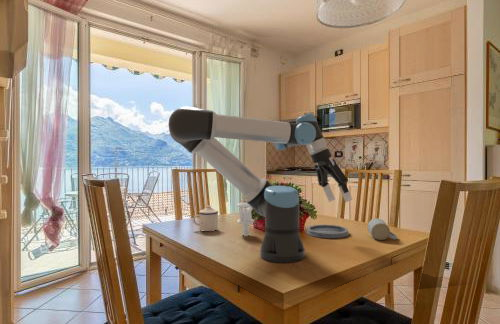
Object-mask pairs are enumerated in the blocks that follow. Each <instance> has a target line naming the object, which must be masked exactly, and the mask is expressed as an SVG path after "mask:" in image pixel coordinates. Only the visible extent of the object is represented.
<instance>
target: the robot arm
mask: <svg viewBox="0 0 500 324" xmlns="http://www.w3.org/2000/svg"><path fill="white" fill-rule="evenodd" d="M168 130H169V131H168V132H169V134H170V137H171V138H172V139H173V140H174V141H175V142H176V143H177V144H180V145H181V146H182V147H183V148H184V149H185V150H186V151H188V152H189V153H190V154H197V155H199V156H200V157H201V158H202V159H203V160H204V161H205V162H206V163H208V164H209V165H210V166H211V167H212V168H213V169H214V170H215V171H217V172H218V173H219V174H220V175H221V176H222V177H224V178H225V180H227V181H228V182H229V183H230V184H231V185H233V186H234V188H236V190H238V191H240V193H242V195H244V201H245V203H246V202H247V203H248V204H249V205H250V206H251V207H253V210H254V212H255V213H256V214H257V215H259V216H261V217H263V218H264V231H265V232H264V236H263V240H262V242H261V245H260V251H259V252H260V257H261V258H262V259H263V260H265V261H269V262H273V263H282V264H283V263H285V264H286V263H293V262H294V263H295V262H300V261H302V260H304V259H305V257H306V251H305V247H304V243H303V241H302V238H301V237H302V236H301V235H300V196H299V191H298V190H297V189H296V188H295V187H292V186H286V185H273V184H272V183H271V182H270V181H269V180H268V179H267V178H264V177H263V178H260V177H258V176H257V175H256V174H255V173H254V171H252V170H251V169H250V168H249V167H247V165H245V164H244V162H243V161H241V160H240V159H239V158H238V157H236V156H235V155H234V154H233V153H232V152H231V151H230V150H229V149H227V147H226V146H225V145H223V144H222V143H221V142H220V141H219V140H218V139H217V138H220V139H227V140H229V139H231V140H241V141H253V142H263V143H273V146H274V147H275V149H276V150H277V151H284V150H286V149H288V148H291V147H299V146H306V149H307V151H308V153H309V155H310V158H311V160H312V162H313V163H314V164H315V165H314V168H315V171H316V175H317V181H318V186H320V187H322V188H323V191H324V193H325V196H326V198H327V200H328V203H330V202H332V201H334V200H336V197H335V195H334V194H333V191H332V188H331V185H330V183H329V181H328V176H329V175H330V176H331V178H333V180H334V181H335V182H336V183H337V184H338V185H337V187H338V188H339V191H340V193H341V195H342V198H343V200H344V202H345V203H348V202H350V201H352V200H353V197H352V195H351V193H350V191H349V189H348V185H347V182H348V181H349V179H348V177H347V176H346V175H345V174H344V172H343V171H342V169H341V168H340V166H339V165H338V163H337V162H336V160H335V159H334V158H333V159H331V160H330V158H332V154H331V151H330V148H328V145H327V142H326V141H327V140H326V139H325V138H324V135H323V132H322V131H321V128H320V125H319V122H318V121H317V119H316V116H315V115H314V114H313V113H311V112H308V113H305V114H304V115H301V116H299V117H297V118H296V119H295V122H289V121H282V120H281V121H279V120H271V119H262V118H255V117H244V116H237V115H230V114H229V115H228V114H219V113H216V112H215V111H214V110H211V109H205V108H199V107H192V106H182V107H179V108H177V109H175V110H174V111H173V112H172V113H171V115H170V117H169V119H168Z"/></svg>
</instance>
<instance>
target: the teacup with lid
mask: <svg viewBox="0 0 500 324" xmlns="http://www.w3.org/2000/svg"><path fill="white" fill-rule="evenodd" d="M197 217H199V223H197V222H196V218H197ZM192 221H193V223H194V225H196V226H199V230H204V231H213V230H217V229H218V230H219V211H218V210H217V209H215V208H213V207H212V206H211V205H206V207H205V208H203V209H201V210H199V213H198V214H196V215H194V216H193V218H192ZM218 230H217V231H218Z"/></svg>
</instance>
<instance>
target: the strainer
mask: <svg viewBox="0 0 500 324" xmlns="http://www.w3.org/2000/svg"><path fill="white" fill-rule="evenodd" d="M236 208H238V219H237V220H236V221H237V224H238V225H241V235H244V236H243V237H249V236H250V225H251V224H254V219H253V218H252V211H253V210H254V209H253V207H251V206H250V205H249V204H248V203H247V202H246V201H245V202H240V203H237V204H236ZM248 235H249V236H248Z"/></svg>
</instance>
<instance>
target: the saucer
mask: <svg viewBox="0 0 500 324" xmlns="http://www.w3.org/2000/svg"><path fill="white" fill-rule="evenodd" d="M306 234H307V235H308V236H310V237H314V238H318V239H319V238H320V239H333V240H335V239H343V238H347V237H348V236H349V234H350V233H349V229H348V228H347V227H344V226H341V225H335V224H314V225H309V226H308V227H306Z"/></svg>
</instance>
